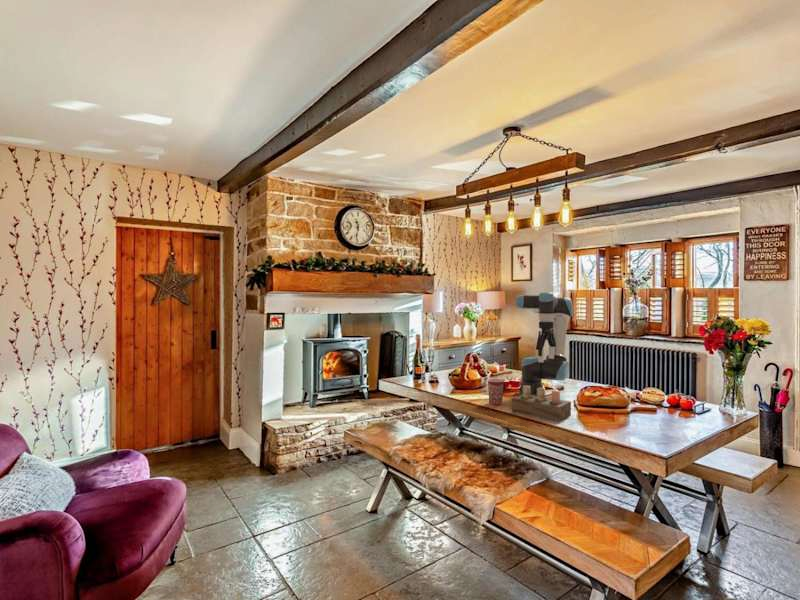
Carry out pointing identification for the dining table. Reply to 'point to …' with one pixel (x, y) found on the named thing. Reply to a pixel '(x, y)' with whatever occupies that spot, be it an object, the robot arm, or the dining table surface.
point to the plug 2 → (555, 397)
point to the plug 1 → (526, 392)
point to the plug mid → (541, 394)
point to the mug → (496, 391)
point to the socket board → (541, 407)
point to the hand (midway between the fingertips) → (546, 360)
